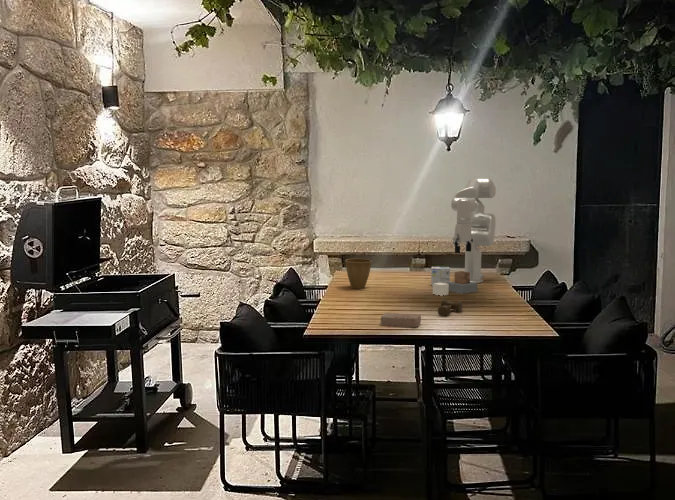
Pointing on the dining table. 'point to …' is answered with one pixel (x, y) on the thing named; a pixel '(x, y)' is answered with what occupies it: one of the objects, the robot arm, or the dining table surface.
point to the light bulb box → (440, 275)
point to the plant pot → (358, 272)
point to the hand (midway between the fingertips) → (463, 252)
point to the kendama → (449, 307)
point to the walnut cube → (462, 277)
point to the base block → (462, 287)
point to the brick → (400, 319)
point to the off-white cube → (440, 289)
